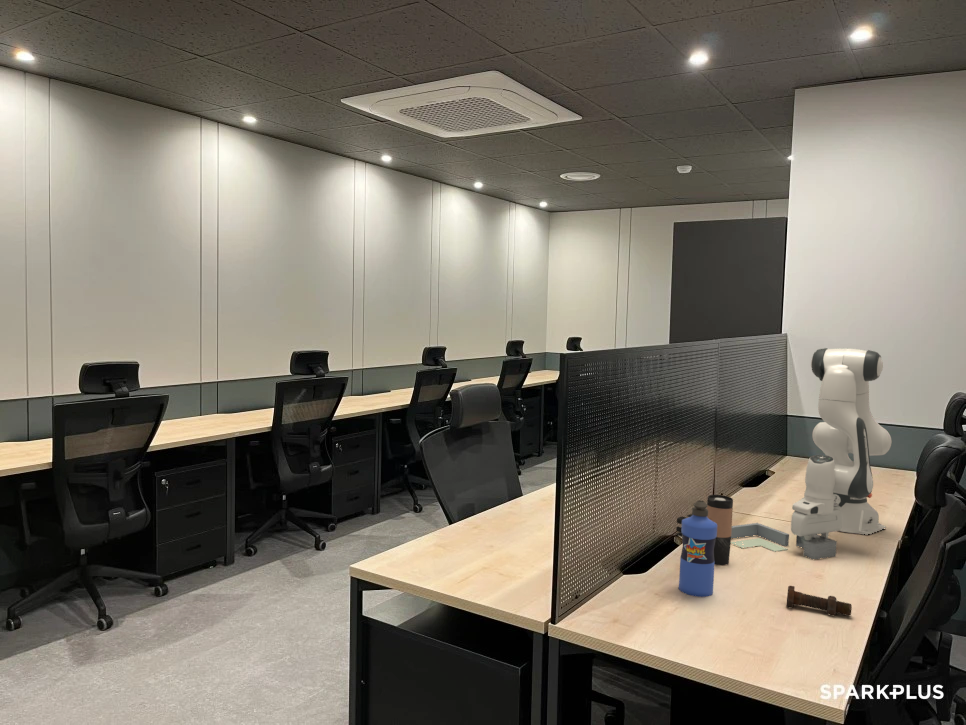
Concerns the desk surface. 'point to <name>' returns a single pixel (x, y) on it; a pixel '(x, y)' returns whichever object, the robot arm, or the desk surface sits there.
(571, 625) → the desk surface
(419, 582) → the desk surface
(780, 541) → the corner walls
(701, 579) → the water bottle
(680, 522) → the end cap
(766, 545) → the mat
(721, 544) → the travel mug
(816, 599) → the bolt
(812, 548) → the bracket
